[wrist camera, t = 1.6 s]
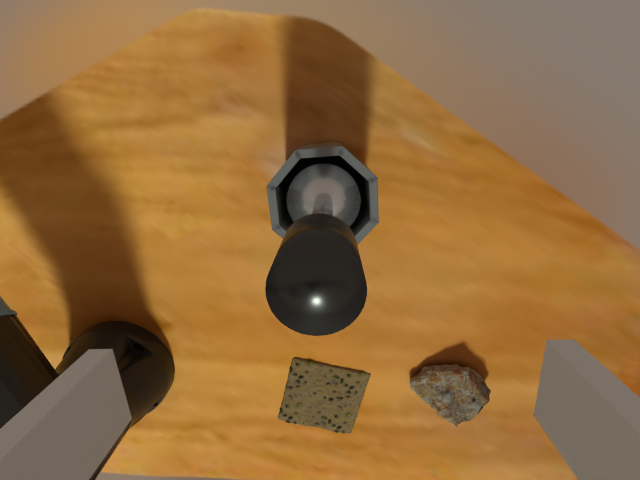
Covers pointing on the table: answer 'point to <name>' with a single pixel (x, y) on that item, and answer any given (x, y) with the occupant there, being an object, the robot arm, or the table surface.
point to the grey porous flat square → (323, 395)
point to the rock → (451, 391)
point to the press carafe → (329, 155)
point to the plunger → (319, 255)
